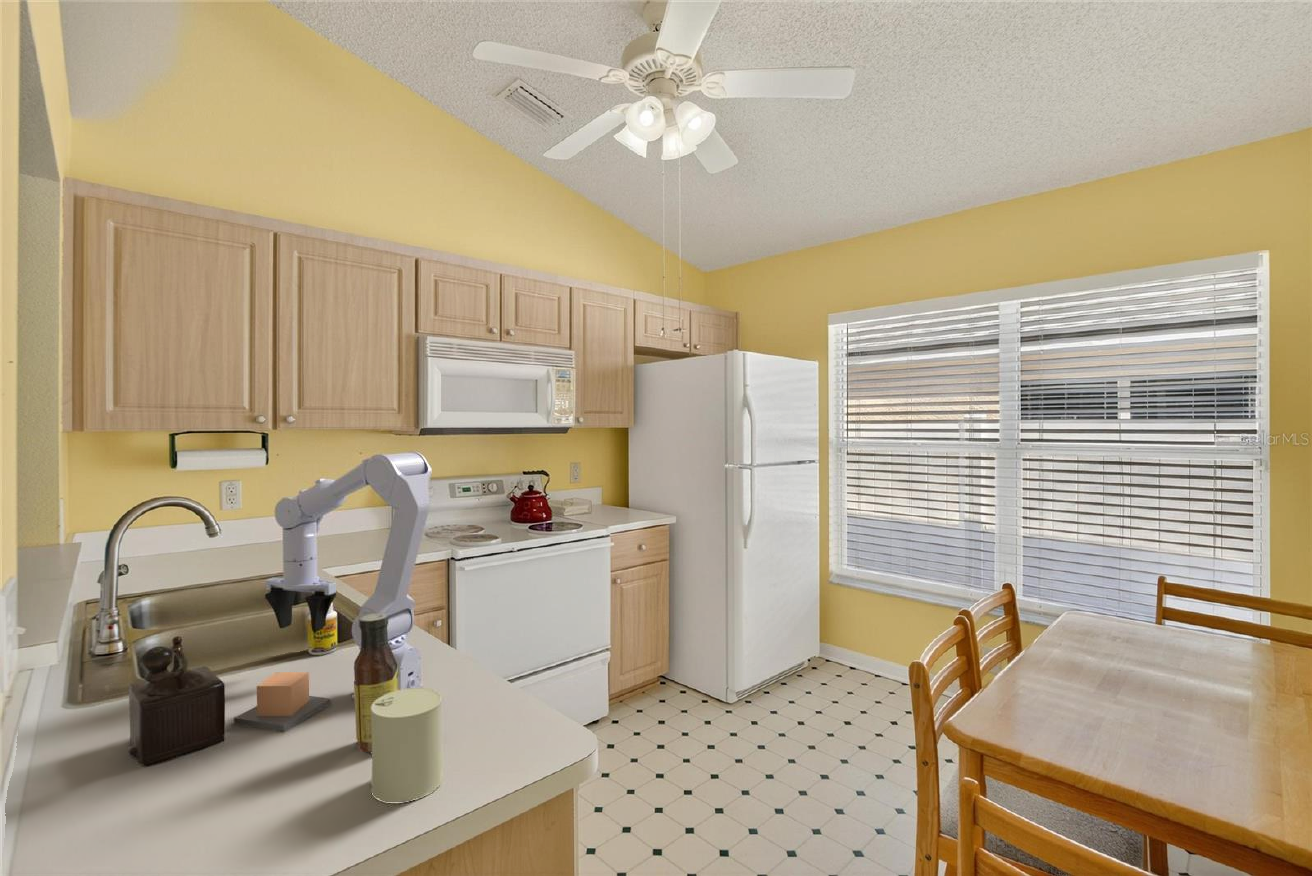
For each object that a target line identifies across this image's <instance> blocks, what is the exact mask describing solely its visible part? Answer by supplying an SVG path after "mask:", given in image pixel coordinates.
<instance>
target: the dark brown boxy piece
mask: <svg viewBox="0 0 1312 876" xmlns="http://www.w3.org/2000/svg"><path fill="white" fill-rule="evenodd" d="M171 642H172V646H171V647H169V646H163V645H162V646H161V645H160V646H153V647H152V648H149V649H147V650H145V651H144V652H143V653H142V656H141V658H140V660H139V665H140V667H142V668H143V669H144V670H145V672H146V675H145V677H144V680H141V681H137V682H133V683H130V684H129V687H128V704H129V705H128V706H129V709H128V710H129V742H128V744H129V747H128V752H129V755H131V756H132V757H133V758H134V759H136V760H137V762H138V763H139V764H141V765H142V766H144V767H147V766H152V765H155V764H160V763H164V762H168V761H172V760H173V759H177V758H180V757H183V756H187V755H189V754H192V753H193V754H194V753H195V752H198V751H202V750H206V749H208V748H211V747H213V746H216V745H218V744H220V743H223V742H225V740H226V738H225V727H226V726H225V725H226V723H225V722H226V700H225V699H226V696H225V695H226V688H225V687H226V686H225V683H224V681H222V680H221V679H220V678H219V677H218V676H217V675H216V674H215V673H214V672H213V671H212V670H211V669H210V668H209V667H208V666H206V665H205V666H201V667H196V668H195V667H194V668H192V669H191V668H188V667H189V663H188V660H187V657H186V655H185V652H184V651H183V650H184V648H183V644H182V643H183V638H182V637H181V636H174V637H173V638H172V639H171ZM171 664H172V669H168V667H169V666H170V665H171Z"/></svg>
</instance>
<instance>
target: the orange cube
mask: <svg viewBox="0 0 1312 876" xmlns="http://www.w3.org/2000/svg"><path fill="white" fill-rule="evenodd" d="M309 696H310V673H309V672H308V671H296V672H295V671H294V672H293V671H292V672H291V671H289V672H288V671H285V672H284V671H279V672H274V673H273V674H272V675H270V676H269V677H267V678H266V679H264V680H263V681H262V682H260V683H259V684H258V685H256V706H257V716H292V715H293V714H294V713H295V712H297V711H298V710H299V709H300V708H301V707H302V706H303V705H305V704H306V703H307V702H308V701H309Z"/></svg>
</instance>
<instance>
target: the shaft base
mask: <svg viewBox="0 0 1312 876" xmlns="http://www.w3.org/2000/svg"><path fill="white" fill-rule="evenodd" d="M331 699H332V698H328V697H320V696H314V695H309V701H308V702H307V703H306V704H305V705H303V706H302V707H301V708H300V709H299V710H298V711H297V712H295V713H294V714H293V715H292V716H257V705H256V706H254V707H252V708H250V709H249V710H247V711H246V710H245V711H244V712H243V713H241V714H238V715H237V716H235V717H234V718H233V725H238V726H239V725H240V726H246V727H252V728H258V729H259V728H260V729H265V730H272V731H277V732H278V731H279V732H286V731H288V730H290V729H291V728H293V727H295V726H297V725H298V724H300V723H301V722H303V721H305V720H306V719H308V718H310V717H312V716H314V715H315V714H316V713H319V712H320V711H322V710H323V709H325V708H327V707H329V706H330V705H331V703H332V702H331V701H332V700H331Z"/></svg>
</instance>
